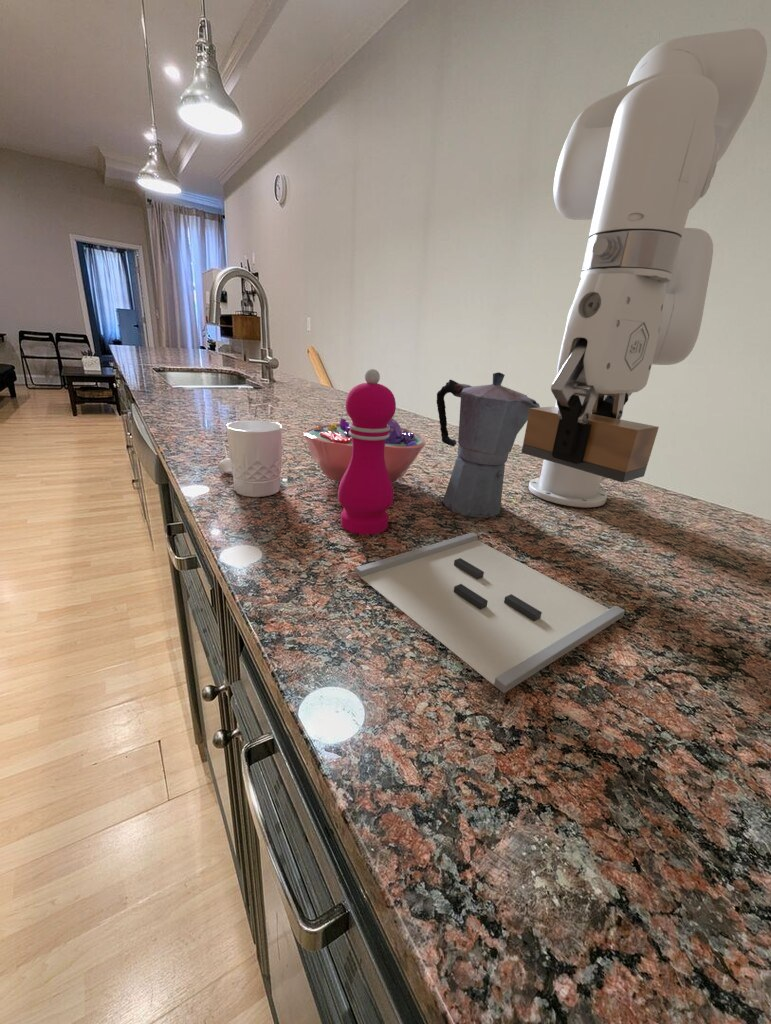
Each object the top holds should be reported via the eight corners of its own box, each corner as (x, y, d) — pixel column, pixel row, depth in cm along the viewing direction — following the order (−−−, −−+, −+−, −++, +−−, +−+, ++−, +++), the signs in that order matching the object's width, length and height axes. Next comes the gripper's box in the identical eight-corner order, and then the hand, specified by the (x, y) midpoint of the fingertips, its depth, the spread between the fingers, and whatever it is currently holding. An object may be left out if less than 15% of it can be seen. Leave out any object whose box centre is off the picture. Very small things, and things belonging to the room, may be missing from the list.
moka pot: (507, 531, 61) (536, 379, 53) (409, 503, 68) (422, 366, 60) (527, 511, 68) (555, 375, 61) (437, 487, 76) (451, 364, 68)
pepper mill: (385, 541, 55) (397, 374, 48) (329, 533, 57) (333, 368, 49) (395, 519, 62) (408, 369, 54) (345, 512, 63) (351, 364, 56)
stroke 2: (453, 592, 45) (454, 586, 45) (460, 589, 46) (461, 583, 45) (480, 610, 43) (481, 603, 42) (487, 606, 43) (488, 600, 43)
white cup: (237, 480, 72) (233, 418, 68) (286, 482, 73) (285, 421, 69) (225, 498, 65) (220, 430, 61) (280, 499, 66) (278, 432, 62)
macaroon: (247, 470, 77) (246, 456, 76) (240, 479, 73) (239, 464, 72) (222, 469, 77) (221, 455, 76) (213, 478, 73) (212, 463, 72)
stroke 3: (503, 602, 44) (504, 596, 44) (510, 599, 45) (511, 593, 44) (534, 621, 41) (535, 615, 41) (540, 618, 42) (542, 612, 42)
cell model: (319, 462, 85) (320, 402, 80) (424, 473, 83) (431, 412, 78) (289, 491, 69) (288, 418, 65) (417, 506, 67) (425, 432, 63)
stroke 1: (453, 565, 50) (454, 559, 50) (459, 563, 51) (460, 557, 51) (477, 579, 48) (478, 574, 48) (483, 577, 48) (484, 571, 48)
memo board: (471, 538, 58) (472, 532, 57) (622, 618, 43) (625, 610, 43) (355, 575, 47) (355, 567, 47) (503, 696, 33) (505, 685, 33)
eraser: (544, 449, 53) (553, 406, 51) (644, 476, 45) (659, 426, 43) (521, 452, 50) (529, 408, 49) (622, 482, 42) (637, 430, 40)
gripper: (624, 242, 33) (568, 478, 40) (708, 273, 43) (651, 458, 50) (537, 250, 38) (501, 457, 45) (629, 276, 48) (588, 442, 55)
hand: (580, 455), depth 47 cm, fingers closed on eraser, 4 cm apart
